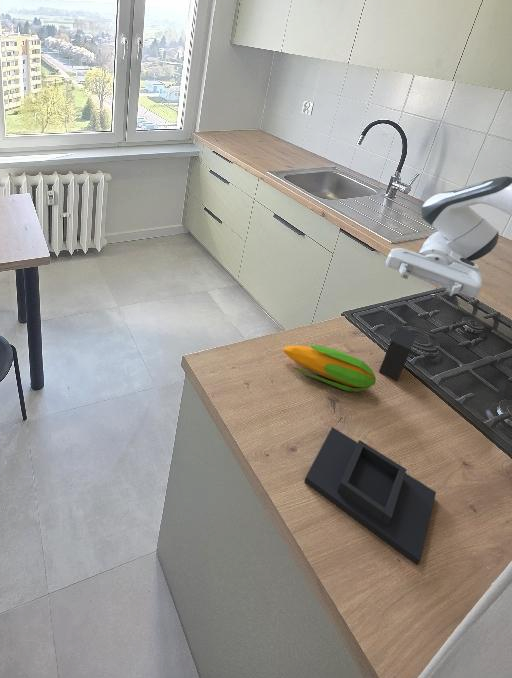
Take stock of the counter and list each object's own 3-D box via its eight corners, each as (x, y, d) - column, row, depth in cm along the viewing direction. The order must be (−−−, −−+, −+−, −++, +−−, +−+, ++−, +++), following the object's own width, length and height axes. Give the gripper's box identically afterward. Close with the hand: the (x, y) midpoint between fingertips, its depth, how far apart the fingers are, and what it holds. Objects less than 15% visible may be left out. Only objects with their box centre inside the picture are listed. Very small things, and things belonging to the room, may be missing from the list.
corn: (381, 379, 89) (284, 345, 97) (371, 406, 92) (278, 371, 100) (379, 357, 95) (288, 328, 103) (369, 383, 98) (281, 352, 106)
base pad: (433, 497, 75) (440, 483, 73) (417, 565, 65) (425, 551, 64) (330, 431, 86) (335, 418, 84) (303, 482, 76) (308, 468, 75)
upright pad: (404, 365, 103) (417, 334, 99) (397, 381, 98) (410, 349, 94) (386, 356, 106) (398, 325, 102) (378, 372, 101) (390, 340, 97)
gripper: (396, 237, 117) (383, 256, 108) (487, 268, 105) (482, 292, 95) (389, 256, 120) (376, 276, 110) (477, 288, 107) (471, 313, 98)
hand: (426, 284), depth 103 cm, fingers open, 8 cm apart
